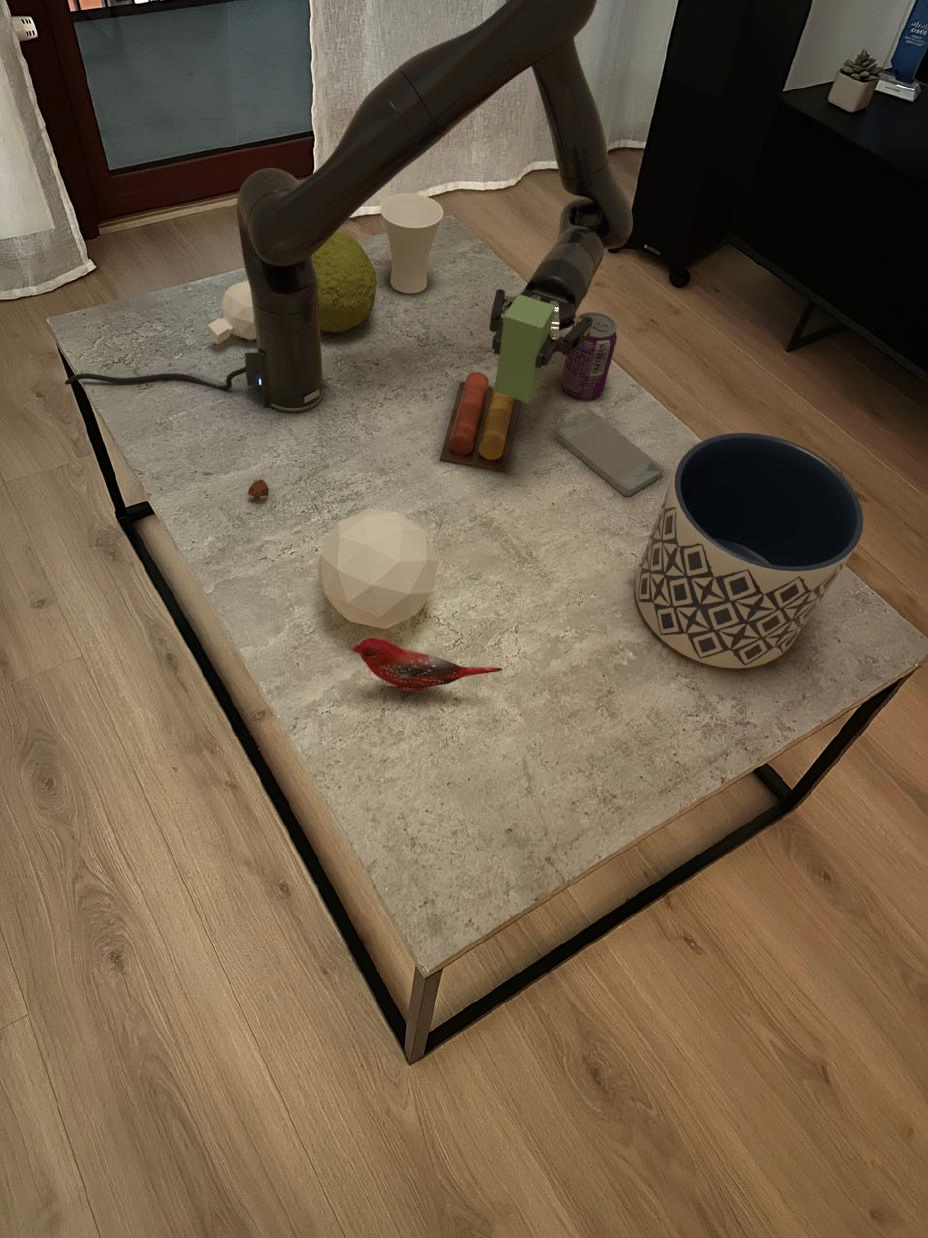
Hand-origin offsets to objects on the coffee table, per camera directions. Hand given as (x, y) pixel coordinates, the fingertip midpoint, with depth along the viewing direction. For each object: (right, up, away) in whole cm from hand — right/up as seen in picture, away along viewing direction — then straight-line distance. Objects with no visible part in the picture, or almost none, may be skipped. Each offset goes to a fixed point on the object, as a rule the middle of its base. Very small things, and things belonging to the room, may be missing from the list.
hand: (517, 355), depth 114 cm
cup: (-17, +26, +45) cm, 55 cm away
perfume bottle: (-43, +13, +33) cm, 55 cm away
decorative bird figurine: (-12, -42, -5) cm, 44 cm away
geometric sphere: (-18, -31, +3) cm, 36 cm away
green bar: (0, -2, +7) cm, 7 cm away
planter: (+27, -31, +7) cm, 42 cm away
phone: (+15, -9, +23) cm, 29 cm away
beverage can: (+12, +4, +32) cm, 35 cm away
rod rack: (-4, -4, +24) cm, 25 cm away
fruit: (-29, +17, +38) cm, 50 cm away
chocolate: (-35, -17, +12) cm, 41 cm away
